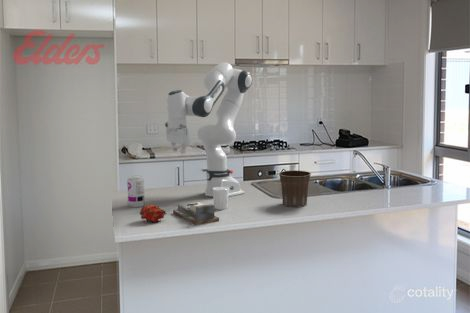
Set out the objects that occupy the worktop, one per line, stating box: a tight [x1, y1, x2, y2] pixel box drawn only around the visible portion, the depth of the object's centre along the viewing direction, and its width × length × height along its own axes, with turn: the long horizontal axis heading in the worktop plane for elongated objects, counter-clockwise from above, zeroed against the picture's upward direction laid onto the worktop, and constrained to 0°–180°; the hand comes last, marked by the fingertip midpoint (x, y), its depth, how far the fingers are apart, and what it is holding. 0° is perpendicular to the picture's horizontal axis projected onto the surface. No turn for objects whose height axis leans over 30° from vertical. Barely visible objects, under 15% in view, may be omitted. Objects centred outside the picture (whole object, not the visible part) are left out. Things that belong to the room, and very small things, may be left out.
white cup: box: [213, 187, 230, 211], centre depth 233 cm, size 8×8×10 cm
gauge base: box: [172, 203, 220, 226], centre depth 218 cm, size 12×24×8 cm, turn 30°
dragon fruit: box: [139, 204, 167, 223], centre depth 211 cm, size 8×8×12 cm
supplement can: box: [127, 175, 146, 208], centre depth 240 cm, size 8×8×15 cm
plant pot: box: [278, 169, 312, 207], centre depth 238 cm, size 16×16×16 cm
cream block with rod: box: [186, 201, 206, 213], centre depth 214 cm, size 8×6×6 cm
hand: (179, 152), depth 231 cm, fingers open, 8 cm apart
